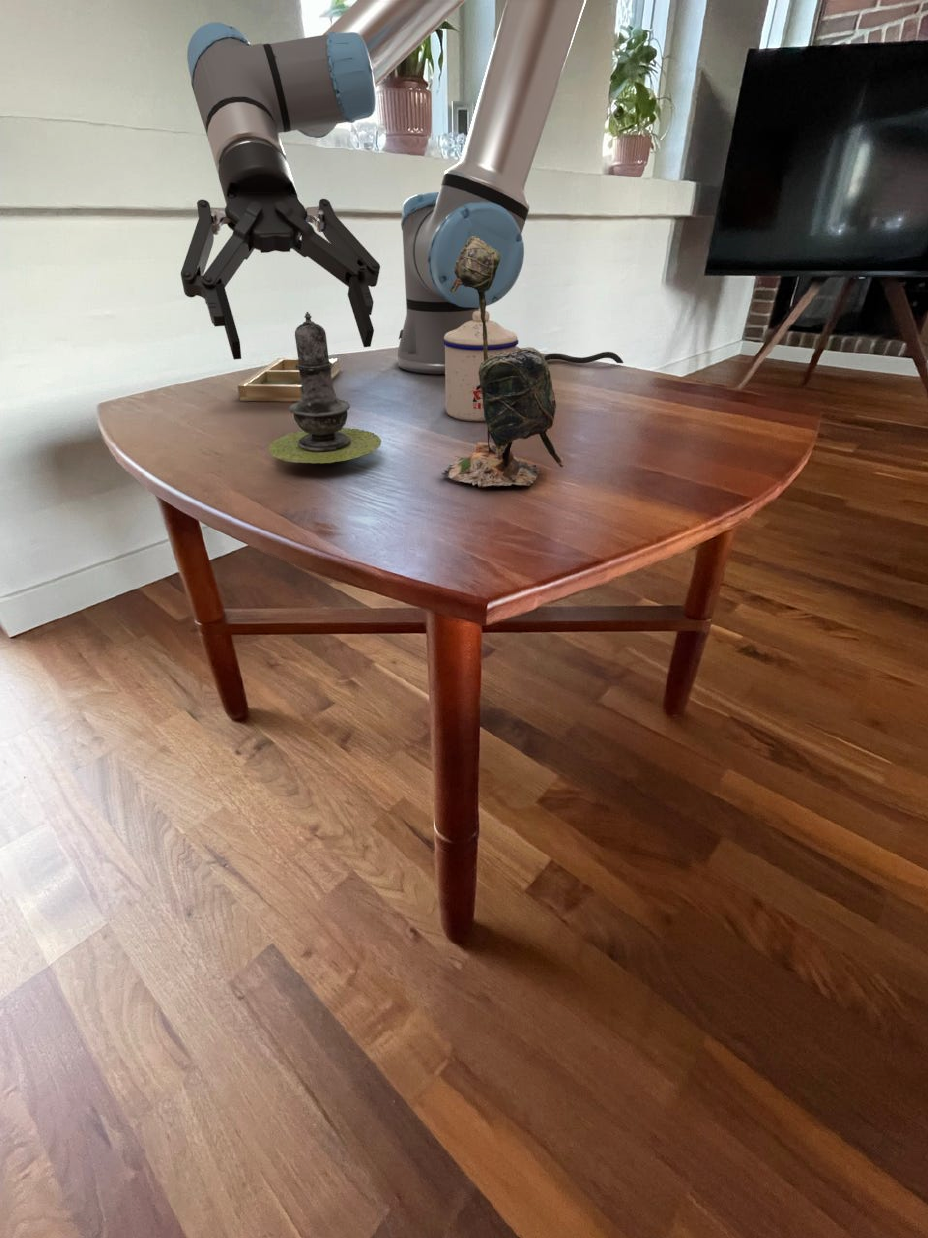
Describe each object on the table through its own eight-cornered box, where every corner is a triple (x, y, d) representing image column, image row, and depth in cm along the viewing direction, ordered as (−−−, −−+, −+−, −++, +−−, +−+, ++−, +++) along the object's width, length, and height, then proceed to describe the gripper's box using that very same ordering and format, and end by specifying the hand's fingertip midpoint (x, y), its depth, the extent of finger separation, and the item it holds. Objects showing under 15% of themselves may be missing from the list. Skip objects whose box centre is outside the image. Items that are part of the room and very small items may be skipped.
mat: (304, 491, 57) (301, 470, 56) (253, 459, 64) (250, 440, 63) (404, 463, 63) (402, 445, 62) (347, 437, 70) (345, 420, 69)
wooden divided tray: (339, 371, 98) (337, 358, 97) (309, 401, 83) (307, 386, 82) (280, 371, 98) (278, 357, 97) (240, 400, 83) (237, 385, 82)
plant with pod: (531, 507, 54) (549, 239, 43) (429, 479, 59) (422, 235, 48) (574, 479, 59) (599, 235, 48) (477, 456, 65) (479, 232, 54)
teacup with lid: (477, 427, 73) (478, 319, 67) (429, 411, 79) (426, 310, 72) (545, 409, 80) (552, 309, 73) (496, 395, 85) (499, 302, 79)
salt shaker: (332, 429, 66) (316, 305, 59) (365, 442, 63) (352, 311, 56) (283, 442, 63) (261, 311, 56) (316, 456, 59) (296, 318, 52)
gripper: (361, 199, 74) (411, 355, 71) (134, 201, 65) (181, 379, 62) (370, 139, 67) (426, 310, 64) (117, 134, 58) (169, 330, 55)
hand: (305, 344), depth 63 cm, fingers open, 13 cm apart
